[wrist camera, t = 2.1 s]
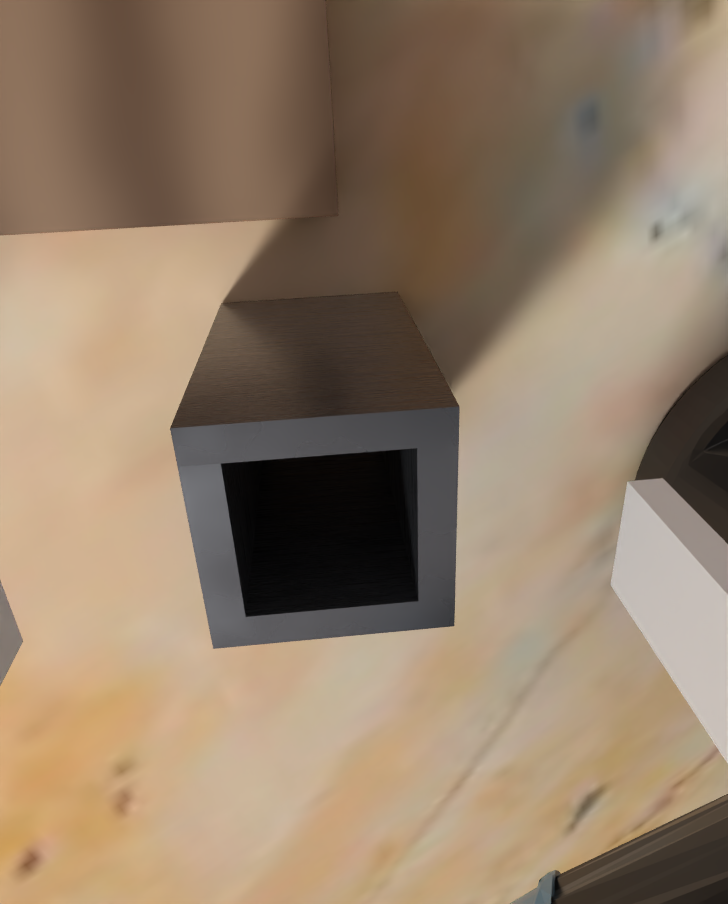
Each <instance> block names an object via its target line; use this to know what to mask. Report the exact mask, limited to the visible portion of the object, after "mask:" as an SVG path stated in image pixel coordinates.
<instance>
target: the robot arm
mask: <svg viewBox="0 0 728 904" xmlns="http://www.w3.org/2000/svg"><path fill="white" fill-rule="evenodd" d="M611 587H612V588H613V590H614V591H615V593H616V594H617V596H618V597H619V599H620V600H621V602H622V603H623V605H624V606H625V608H626V609H627V611H628V612H629V614H630V616H631V617H632V619H633V620H634V622H635V623H636V625H637V626H638V628H639V629H640V631H641V632H642V634H643V635H644V637H645V638H646V640H647V641H648V643H649V644H650V646H651V648H652V649H653V651H654V652H655V654H656V655H657V657H658V658H659V660H660V661H661V663H662V664H663V666H664V667H665V669H666V670H667V672H668V673H669V675H670V676H671V678H672V680H673V681H674V683H675V684H676V686H677V687H678V689H679V690H680V692H681V693H682V695H683V696H684V698H685V699H686V701H687V702H688V704H689V705H690V707H691V709H692V710H693V712H694V713H695V715H696V716H697V718H698V719H699V721H700V722H701V724H702V725H703V727H704V728H705V730H706V731H707V733H708V734H709V736H710V737H711V739H712V741H713V742H714V744H715V745H716V747H717V748H718V750H719V751H720V753H721V754H722V756H723V757H724V759H725V760H726V762H727V763H728V355H727V356H726V357H725V358H723V359H722V360H721V361H719V362H718V363H717V364H716V365H714V366H713V367H712V368H711V369H710V370H709V371H708V372H706V373H705V374H704V375H703V376H702V377H701V378H700V379H699V380H698V381H697V382H696V383H695V384H694V385H693V386H692V387H691V388H690V389H689V390H688V391H687V392H686V393H685V394H684V395H683V397H682V398H681V399H680V400H679V401H678V402H677V404H676V405H675V406H674V407H673V409H672V410H671V411H670V413H669V414H668V415H667V417H666V418H665V420H664V421H663V422H662V424H661V425H660V427H659V429H658V430H657V432H656V433H655V435H654V437H653V439H652V441H651V442H650V444H649V446H648V448H647V450H646V452H645V455H644V457H643V459H642V461H641V464H640V467H639V470H638V472H637V476H636V479H635V481H628V482H627V488H626V494H625V500H624V506H623V512H622V518H621V524H620V530H619V537H618V543H617V549H616V555H615V561H614V567H613V573H612V579H611ZM22 642H23V640H22V637H21V634H20V632H19V629H18V626H17V624H16V621H15V618H14V616H13V613H12V610H11V608H10V605H9V602H8V600H7V597H6V594H5V592H4V589H3V586H2V584H1V581H0V685H1V683H2V681H3V679H4V678H5V676H6V674H7V672H8V670H9V668H10V666H11V664H12V662H13V660H14V658H15V656H16V654H17V652H18V650H19V648H20V646H21V644H22ZM510 904H728V794H727V795H724V796H722V797H720V798H718V799H716V800H714V801H712V802H710V803H708V804H706V805H704V806H702V807H699V808H697V809H695V810H693V811H691V812H689V813H687V814H685V815H683V816H681V817H679V818H677V819H674V820H672V821H670V822H668V823H666V824H664V825H662V826H660V827H658V828H656V829H654V830H652V831H649V832H647V833H645V834H643V835H641V836H639V837H637V838H635V839H633V840H631V841H629V842H627V843H624V844H622V845H620V846H618V847H616V848H614V849H612V850H610V851H608V852H606V853H604V854H602V855H599V856H597V857H595V858H593V859H591V860H589V861H587V862H585V863H583V864H581V865H579V866H577V867H574V868H572V869H570V870H568V871H566V872H564V873H562V874H560V872H559V871H557V870H554V871H552V872H549V873H547V874H546V875H545V876H544V877H542V878H541V879H540V880H539V883H538V886H537V888H535V889H534V890H532V891H530V892H529V893H527V894H525V895H523V896H522V897H520V898H518V899H517V900H515V901H513V902H511V903H510Z"/></svg>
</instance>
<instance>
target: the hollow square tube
mask: <svg viewBox="0 0 728 904" xmlns="http://www.w3.org/2000/svg"><path fill="white" fill-rule="evenodd" d="M170 430H171V435H172V440H173V445H174V450H175V456H176V461H177V466H178V471H179V476H180V481H181V486H182V491H183V496H184V501H185V506H186V512H187V517H188V522H189V527H190V532H191V537H192V542H193V547H194V552H195V557H196V562H197V568H198V573H199V578H200V583H201V588H202V593H203V598H204V603H205V608H206V613H207V618H208V624H209V629H210V634H211V639H212V644H213V649H215V648H226V647H236V646H247V645H258V644H268V643H279V642H290V641H300V640H311V639H322V638H332V637H343V636H354V635H364V634H375V633H386V632H396V631H407V630H418V629H428V628H439V627H450V626H454V614H455V572H456V530H457V488H458V446H459V405H458V403H457V401H456V399H455V397H454V396H453V394H452V392H451V390H450V388H449V386H448V384H447V383H446V381H445V379H444V377H443V375H442V373H441V372H440V370H439V368H438V366H437V364H436V362H435V360H434V359H433V357H432V355H431V353H430V351H429V349H428V347H427V346H426V344H425V342H424V340H423V338H422V336H421V334H420V333H419V331H418V329H417V327H416V325H415V323H414V322H413V320H412V318H411V316H410V314H409V312H408V310H407V309H406V307H405V305H404V303H403V301H402V299H401V297H400V296H399V294H398V292H388V293H373V294H358V295H342V296H327V297H312V298H296V299H281V300H265V301H250V302H235V303H221V305H220V308H219V310H218V313H217V315H216V318H215V320H214V323H213V325H212V327H211V330H210V332H209V335H208V337H207V340H206V342H205V345H204V347H203V349H202V352H201V354H200V357H199V359H198V362H197V364H196V366H195V369H194V371H193V374H192V376H191V379H190V381H189V384H188V386H187V388H186V391H185V393H184V396H183V398H182V401H181V403H180V406H179V408H178V410H177V413H176V415H175V418H174V420H173V423H172V425H171V428H170Z"/></svg>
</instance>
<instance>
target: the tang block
mask: <svg viewBox="0 0 728 904" xmlns="http://www.w3.org/2000/svg"><path fill="white" fill-rule="evenodd" d="M323 216H338V199H337V182H336V165H335V148H334V131H333V114H332V97H331V80H330V62H329V45H328V28H327V11H326V0H0V235H15V234H32V233H49V232H66V231H84V230H101V229H118V228H135V227H152V226H169V225H186V224H203V223H221V222H238V221H255V220H272V219H289V218H306V217H323Z"/></svg>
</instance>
